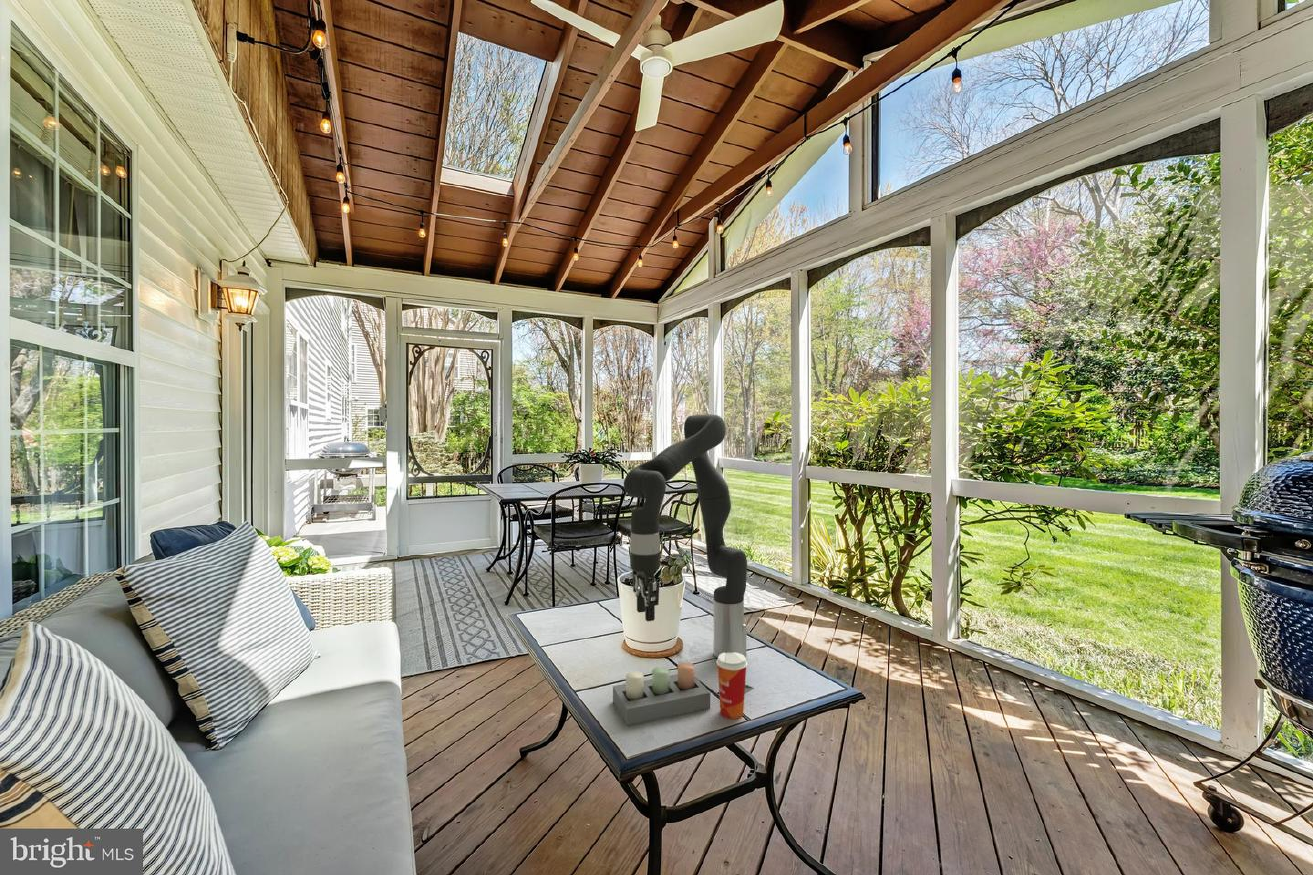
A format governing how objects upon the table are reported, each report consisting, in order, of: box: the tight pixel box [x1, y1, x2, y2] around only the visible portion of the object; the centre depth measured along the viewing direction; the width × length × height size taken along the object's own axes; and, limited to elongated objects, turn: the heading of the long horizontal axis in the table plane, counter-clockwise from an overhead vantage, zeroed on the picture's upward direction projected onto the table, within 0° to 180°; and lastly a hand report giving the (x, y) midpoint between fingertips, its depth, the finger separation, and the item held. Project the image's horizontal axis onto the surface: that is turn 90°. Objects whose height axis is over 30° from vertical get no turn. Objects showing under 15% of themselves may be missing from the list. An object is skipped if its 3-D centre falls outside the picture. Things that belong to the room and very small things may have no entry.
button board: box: [612, 673, 711, 727], centre depth 142 cm, size 22×12×4 cm, turn 111°
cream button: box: [625, 671, 644, 700], centre depth 139 cm, size 4×4×5 cm
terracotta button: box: [677, 662, 696, 690], centre depth 144 cm, size 4×4×5 cm
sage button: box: [651, 666, 671, 695], centre depth 142 cm, size 4×4×5 cm
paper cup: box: [716, 652, 748, 720], centre depth 138 cm, size 8×8×14 cm
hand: (645, 615), depth 140 cm, fingers open, 6 cm apart
